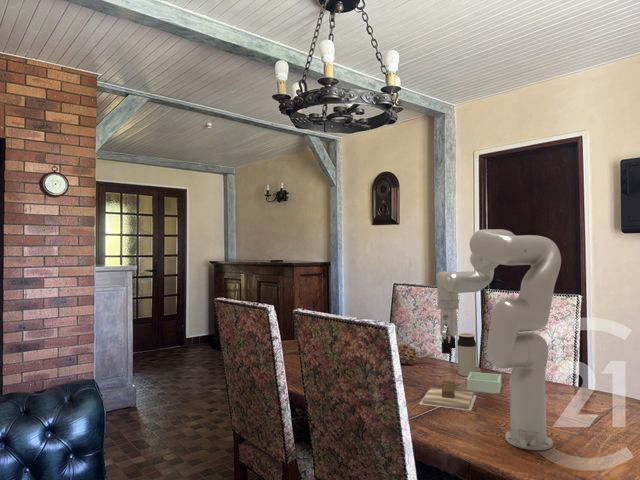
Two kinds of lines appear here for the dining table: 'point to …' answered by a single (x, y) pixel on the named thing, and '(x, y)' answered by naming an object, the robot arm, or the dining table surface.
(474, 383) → the dish
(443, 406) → the mat
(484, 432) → the dining table surface
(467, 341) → the travel mug
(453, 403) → the lid
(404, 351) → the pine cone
